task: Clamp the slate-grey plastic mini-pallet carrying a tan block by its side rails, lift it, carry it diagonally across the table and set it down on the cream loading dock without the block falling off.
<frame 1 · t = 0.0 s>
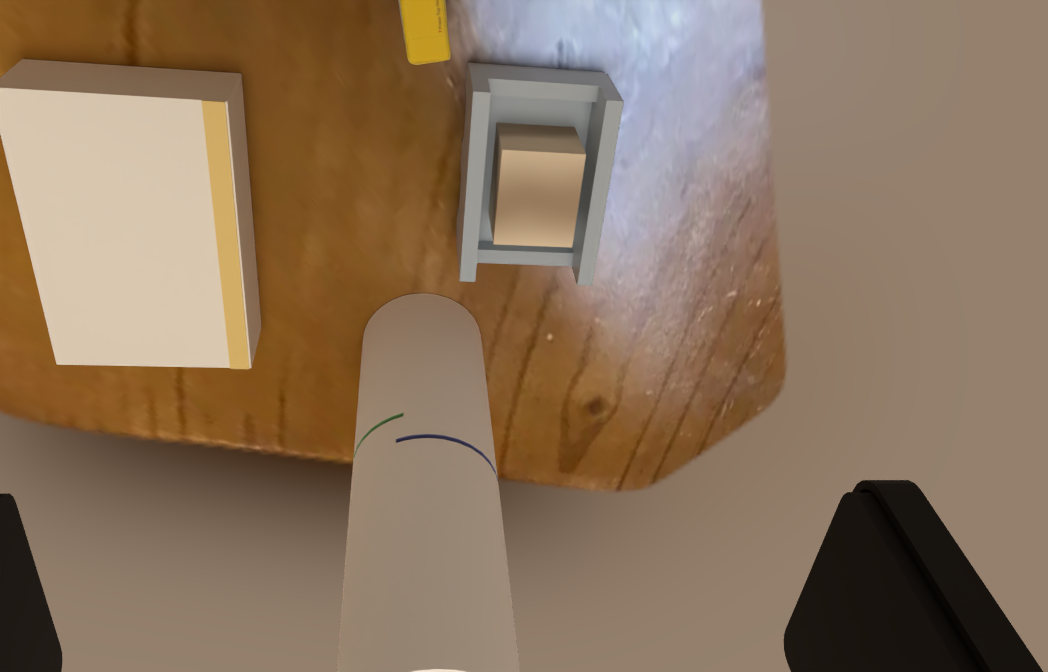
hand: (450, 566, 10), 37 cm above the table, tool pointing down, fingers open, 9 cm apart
pallet: (526, 155, 47), on the table, touching tan block
cylindrical container: (422, 341, 53), on the table
tan block: (530, 171, 45), point 2 cm above the table, touching pallet
dock: (154, 207, 46), on the table
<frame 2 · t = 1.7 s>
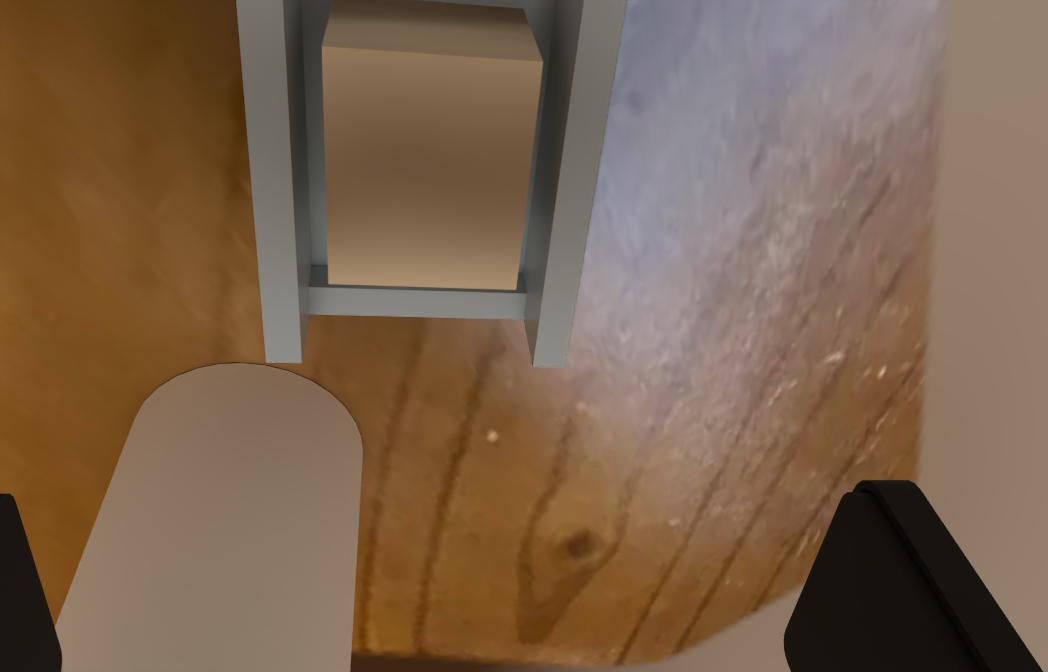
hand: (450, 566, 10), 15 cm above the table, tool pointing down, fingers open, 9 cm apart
pallet: (424, 82, 22), on the table, touching tan block
cylindrical container: (250, 447, 28), on the table
tan block: (425, 113, 20), point 2 cm above the table, touching pallet
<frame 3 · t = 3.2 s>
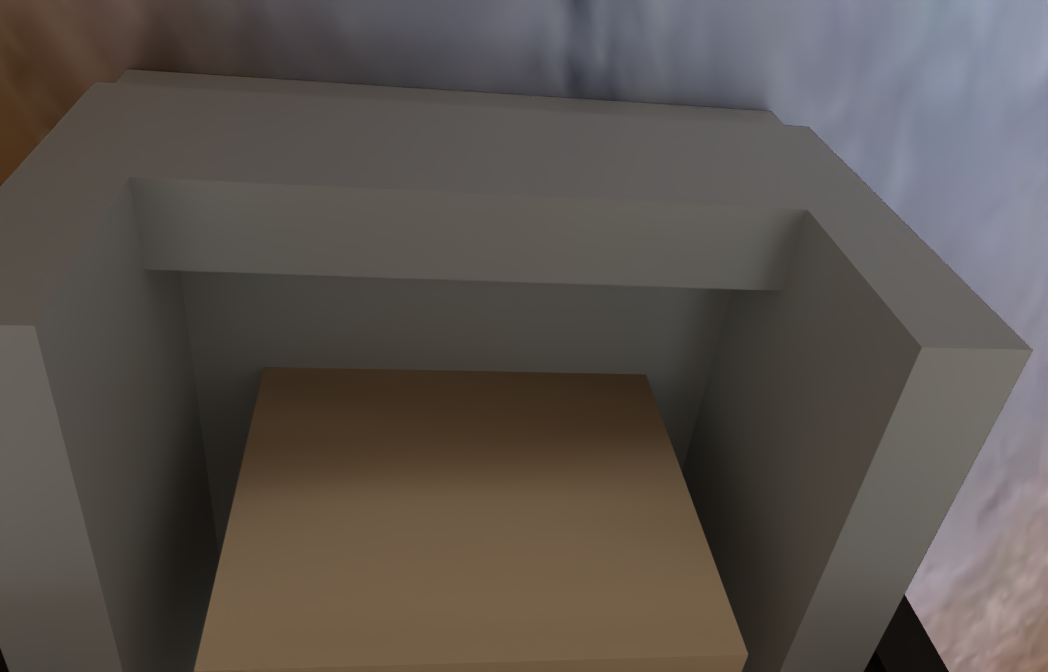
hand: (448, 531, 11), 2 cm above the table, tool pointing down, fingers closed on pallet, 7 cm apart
pallet: (443, 428, 12), on the table, touching tan block, gripper
tan block: (448, 536, 11), point 2 cm above the table, touching pallet
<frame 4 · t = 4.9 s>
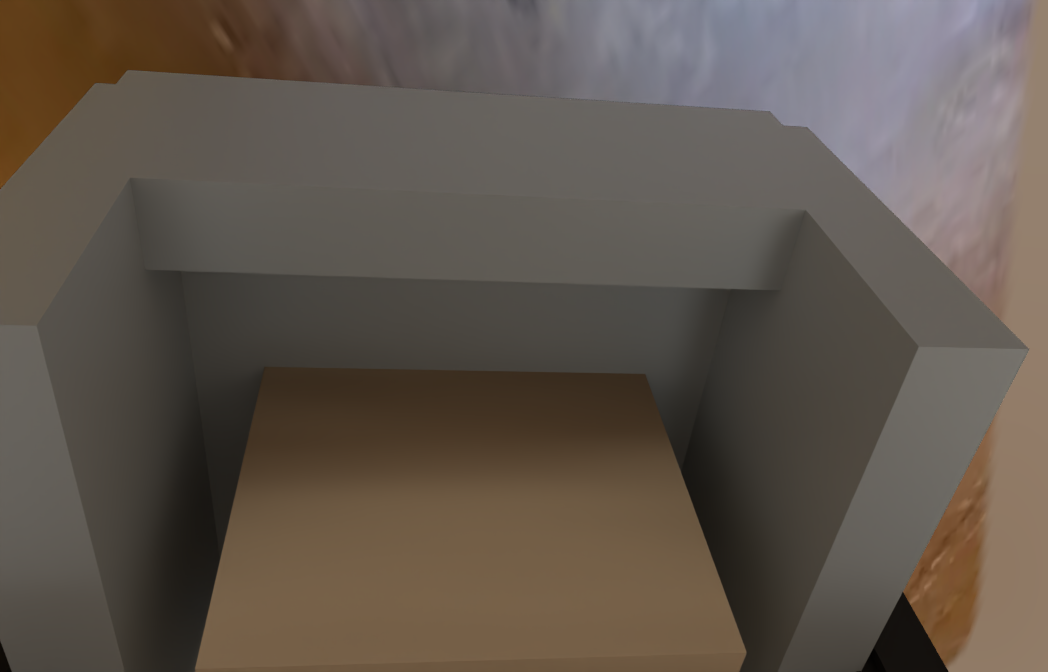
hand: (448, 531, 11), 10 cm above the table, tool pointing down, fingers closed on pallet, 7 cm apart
pallet: (443, 427, 12), point 8 cm above the table, touching tan block, gripper
tan block: (448, 535, 11), point 10 cm above the table, touching pallet
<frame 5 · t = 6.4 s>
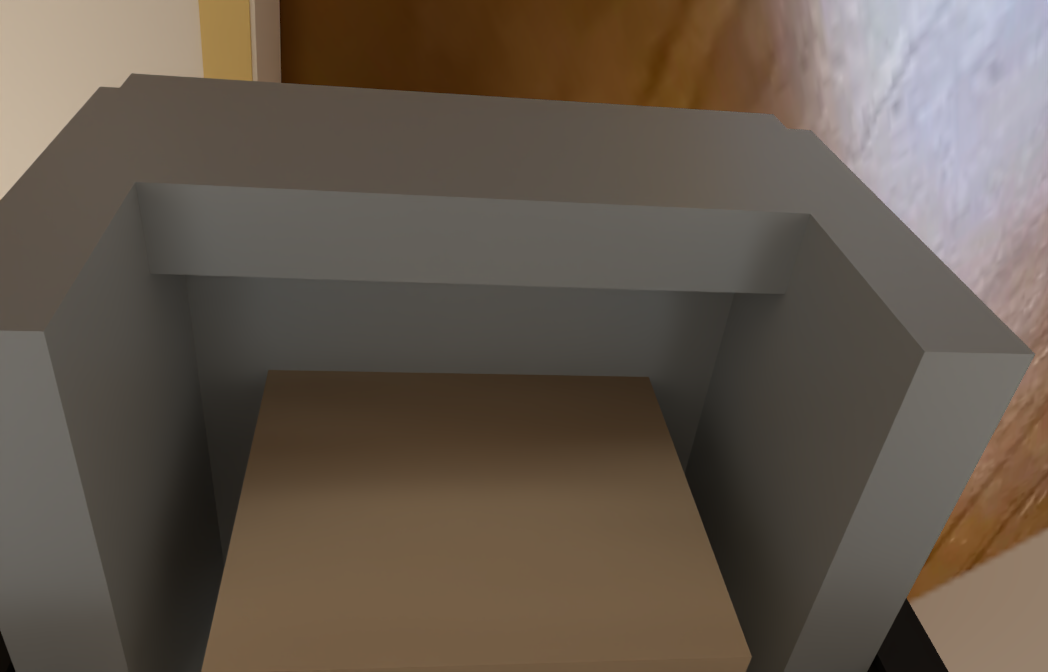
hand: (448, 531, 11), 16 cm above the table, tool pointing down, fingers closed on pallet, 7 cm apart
pallet: (446, 430, 12), point 14 cm above the table, touching tan block, gripper
tan block: (451, 538, 11), point 16 cm above the table, touching pallet
dock: (87, 122, 23), on the table
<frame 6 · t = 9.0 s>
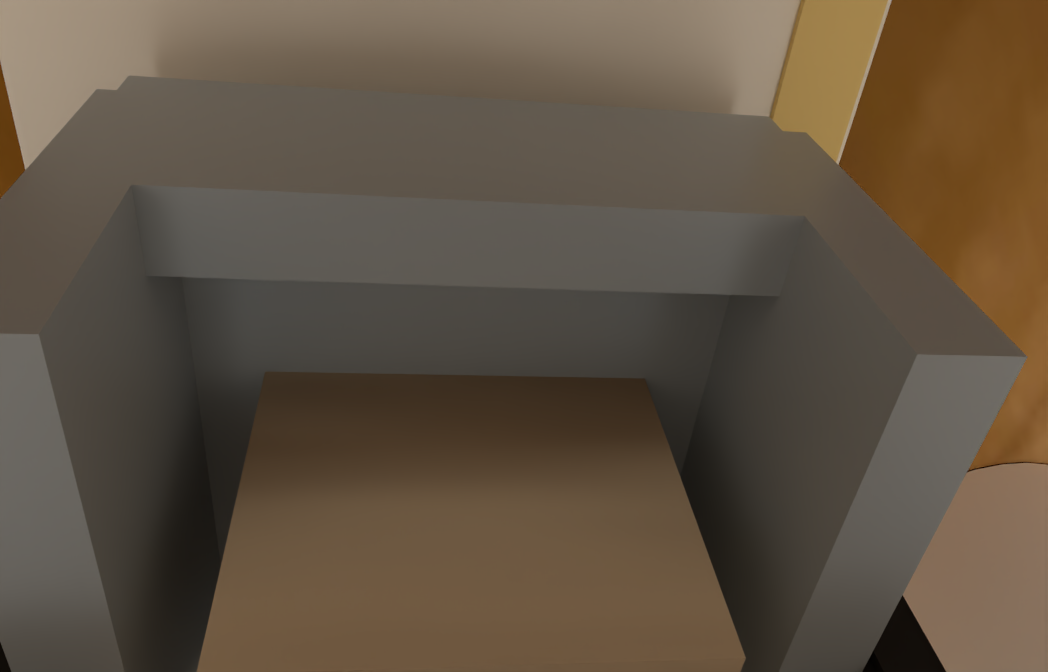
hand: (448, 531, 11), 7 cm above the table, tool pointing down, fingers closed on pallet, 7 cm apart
pallet: (443, 431, 12), point 5 cm above the table, touching tan block, gripper
cylindrical container: (965, 558, 23), on the table
tan block: (448, 539, 11), point 7 cm above the table, touching pallet
dock: (432, 267, 16), on the table
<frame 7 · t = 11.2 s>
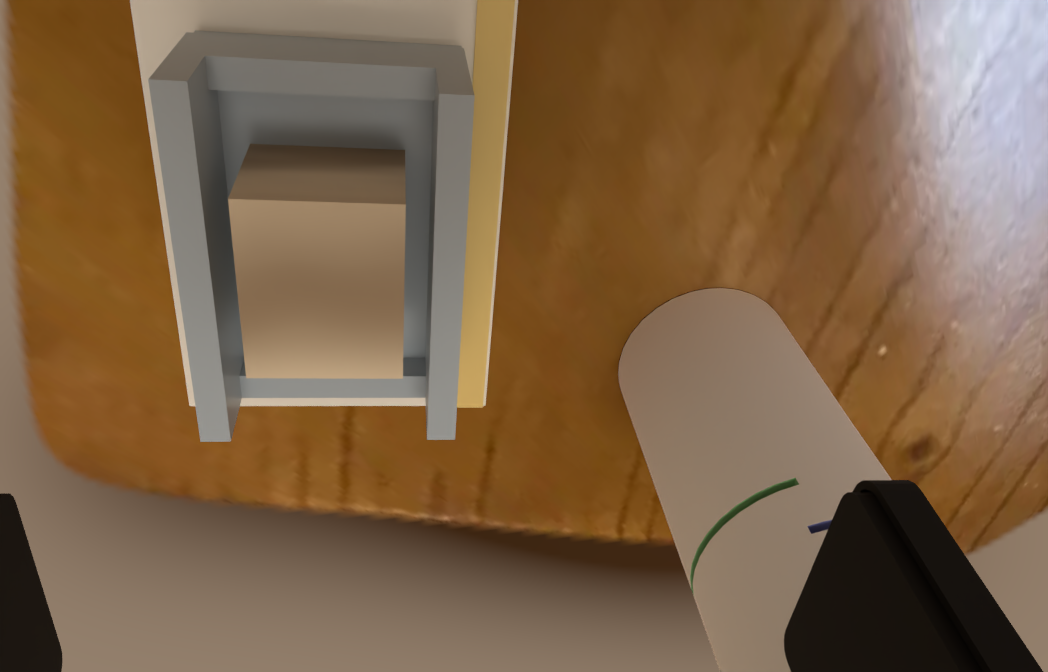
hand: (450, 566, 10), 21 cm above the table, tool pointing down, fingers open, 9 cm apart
pallet: (336, 202, 26), point 4 cm above the table, touching tan block, dock
cylindrical container: (701, 360, 36), on the table
tan block: (331, 232, 24), point 6 cm above the table, touching pallet
dock: (342, 156, 29), on the table
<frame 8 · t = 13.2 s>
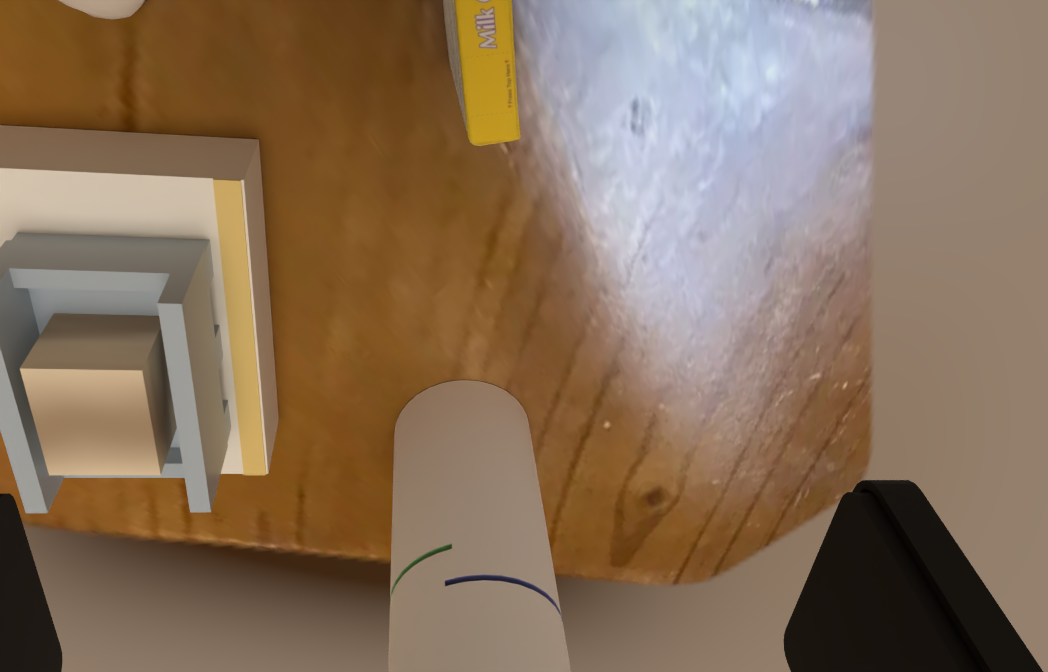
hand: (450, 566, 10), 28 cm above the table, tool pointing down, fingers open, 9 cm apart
pallet: (133, 338, 36), point 4 cm above the table, touching tan block, dock
cylindrical container: (462, 431, 46), on the table
tan block: (120, 367, 34), point 6 cm above the table, touching pallet
dock: (156, 290, 39), on the table
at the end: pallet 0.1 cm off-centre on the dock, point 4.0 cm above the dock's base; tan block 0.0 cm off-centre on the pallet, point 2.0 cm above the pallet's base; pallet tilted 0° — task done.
